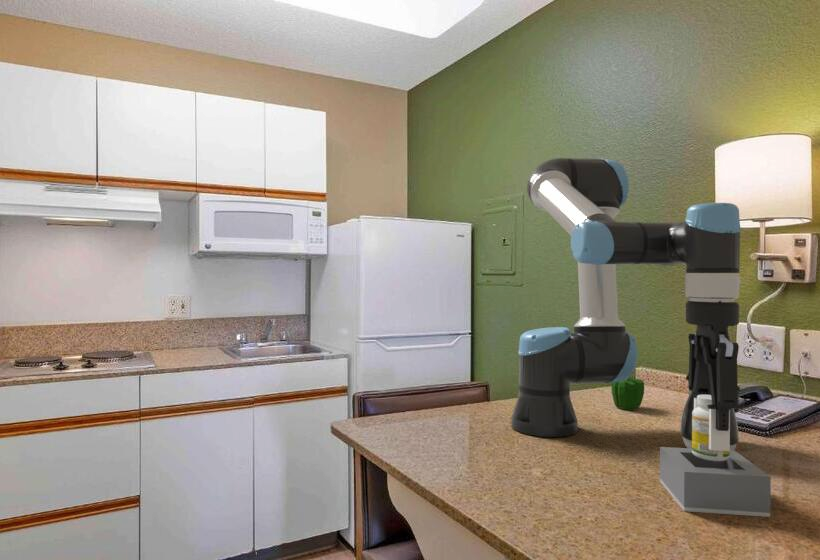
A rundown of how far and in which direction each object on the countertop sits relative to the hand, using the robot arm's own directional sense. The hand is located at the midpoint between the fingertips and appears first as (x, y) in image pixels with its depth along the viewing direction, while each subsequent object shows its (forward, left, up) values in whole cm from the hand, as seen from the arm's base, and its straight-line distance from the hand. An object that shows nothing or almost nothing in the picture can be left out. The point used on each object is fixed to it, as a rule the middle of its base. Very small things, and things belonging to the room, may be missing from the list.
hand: (710, 443), depth 86 cm
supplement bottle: (0, 0, -2) cm, 2 cm away
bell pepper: (+1, +59, -9) cm, 60 cm away
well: (0, 0, -9) cm, 9 cm away
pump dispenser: (+8, +22, -9) cm, 25 cm away
